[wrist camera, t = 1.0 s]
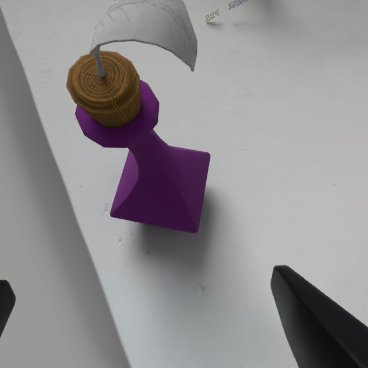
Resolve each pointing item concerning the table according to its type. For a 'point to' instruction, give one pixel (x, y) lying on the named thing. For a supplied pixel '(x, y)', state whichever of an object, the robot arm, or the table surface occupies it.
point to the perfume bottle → (140, 115)
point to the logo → (218, 9)
